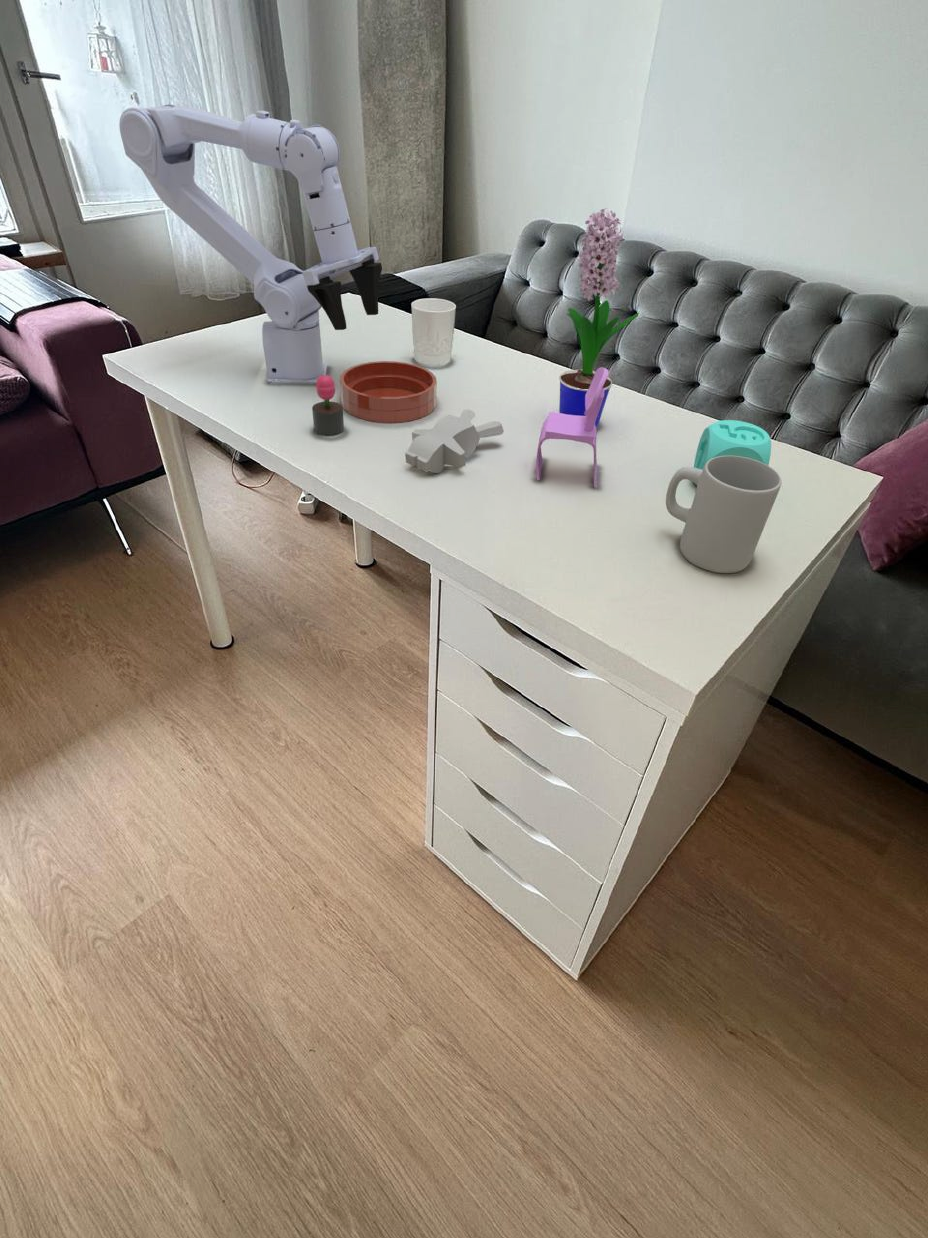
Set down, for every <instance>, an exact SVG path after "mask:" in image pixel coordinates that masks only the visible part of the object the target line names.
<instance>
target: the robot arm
mask: <svg viewBox="0 0 928 1238" xmlns="http://www.w3.org/2000/svg"><path fill="white" fill-rule="evenodd" d="M119 133H120V138H121V141H122V144H123V149H124V153H125V155H126V156H127V157H128V158H129V159H130V161H132V162H133V163H134V164H135V165H136V166H137V167H138V168H140V169H141V171H142V172H143V175H144V176H145V178H146V179H147V180H148V182H149V183H150V185H151V187H152V189H153V190H154V191H155V193H156V195H157V196H158V198H159V200H160V201H161V202H162V203H163V204H164V205H165V206H166V207H168V209H170V210H171V212H173V213H174V214H175V215H176V216H177V217H178V218H179V219H180V220H182V221H183V222H184V223H185V224H186V225H187V226H189V228H191V230H193V231H194V232H195V233H196V234H197V235H199V236H200V237H201V238H202V240H204V241H205V242H206V243H207V244H208V245H209V246H211V248H213V249H214V250H215V251H216V252H217V253H218V254H219V255H220V256H222V257H223V258H224V259H225V260H226V261H227V262H228V263H230V265H232V266H233V267H234V268H235V269H236V270H237V271H238V272H240V274H242V275H243V276H244V277H245V278H246V279H247V280H249V281H250V283H252V284H253V297H254V300H256V301H257V302H258V303H259V304H260V305H261V306H262V307H263V309H264V311H265V313H266V315H267V317H268V318H269V319H270V321H263V322H262V329H261V332H262V333H261V335H262V347H263V354H264V355H263V356H264V360H265V361H264V362H265V369H266V376H267V383H268V384H269V383H270V382H294V383H295V382H297V383H298V382H299V383H316V381H317V379H318V378H319V377H320V376H321V375H327V368H328V364H325V363H324V362H323V351H322V338H321V329H320V326H321V325H320V310H321V309H323V311H324V312H325V314H326V315H327V317H328V319H329V321H330V323H331V325H332V326H333V329H334V330H335V331H344V330H346V329H347V321H346V316H345V312H344V308H343V307H344V306H343V302H342V301H343V300H342V282H341V281H333V279H331V278H334V277H337V276H339V275H342V274H343V273H347V272H349V274H350V276H351V277H352V279H353V282H354V283H355V285H356V287H357V290H358V292H359V296H360V300H361V302H362V306H363V309H364V311H365V314H366V315H367V316H376V315H379V286H380V279H381V275H382V271H383V266H382V262H377V261H379V260H380V257H379V253H378V248H377V246H368V247H365V248H362V249H359V250H358V247H357V241H356V239H355V234H354V229H353V227H352V222H351V218H350V214H349V210H348V205H347V203H346V202H347V201H346V198H345V197H346V196H345V194H344V190H343V185H342V182H341V179H340V174H339V170H338V165H339V163H340V159H341V150H340V146H339V142H338V140H337V137H336V136H335V135H334V134H333V132H331V130H329V129H328V128H325V127H323V126H322V125H320V124H314V125H311V126H308V127H305V128H304V127H303V126H302V123H301V121H300V120H298V119H290V121H285V120H280V119H276V118H272V117H271V113H270V112H269V111H267V110H256V113H251V114H249V115H248V116H247V117H245V119H244V120H243V121H240V120H237V119H233V118H230V117H227V116H223V115H220V114H217V113H213V112H210V111H207V110H203V109H201V108H197V107H194V106H189V105H175V104H169V103H167V104H164V105H161V106H153V107H150V106H149V107H141V108H139V107H128V108H126V109H125V110H124V111H123V112H121V115H120V118H119ZM200 142H204V143H209V144H214V145H220V146H224V147H230V148H234V149H239V150H242V151H243V153H244V155H245V157H246V158H247V159H248V160H249V161H250V162H252V163H255V164H259V165H261V166H262V165H263V166H267V167H269V168H275V169H279V170H283V171H287V172H290V173H291V174H292V175H293V176H294V177H295V178H296V179H297V182H298V184H299V187H300V191H301V192H302V195H303V198H304V202H305V206H306V210H307V214H308V217H309V220H310V224H311V227H312V232H313V235H314V238H315V242H316V246H317V249H318V253H319V256H320V260H321V262H320V263H317V264H316V265H314V266H312V267H310V268H308V269H305V270H302V269H300V268H299V267H298V266H297V265H295V264H294V263H292V262H290V261H287V260H284V259H282V258H278V257H276V256H275V255H273V253H271V252H270V251H269V250H268V249H267V248H266V247H265V246H264V245H263V244H262V243H260V242H259V241H258V240H257V239H256V238H255V237H254V236H253V235H252V234H251V233H250V232H249V231H248V230H246V229H245V228H244V227H243V226H242V225H241V224H240V223H239V222H238V221H237V220H236V219H234V218H233V216H231V215H230V214H229V213H228V212H227V211H226V210H225V209H224V208H223V207H221V206H220V205H219V204H218V202H216V201H215V200H214V199H213V198H211V197H210V196H209V195H208V194H207V193H206V192H205V191H204V190H203V189H202V188H201V187H199V185H197V184H196V183H195V166H196V163H195V162H196V144H197V143H200Z"/></svg>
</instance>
